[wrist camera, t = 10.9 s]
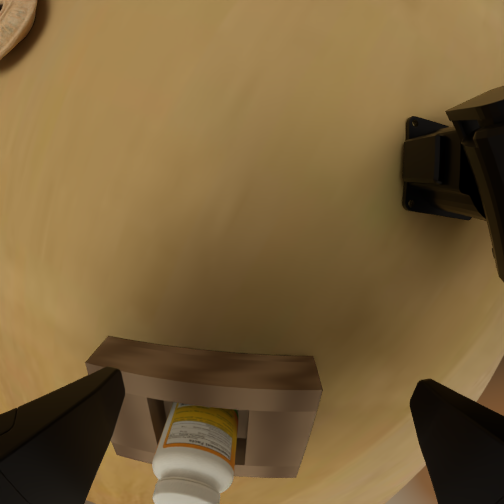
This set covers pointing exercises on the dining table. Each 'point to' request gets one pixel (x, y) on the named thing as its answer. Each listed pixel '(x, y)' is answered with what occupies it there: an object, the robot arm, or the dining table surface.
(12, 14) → the pottery oil lamp
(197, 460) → the supplement bottle
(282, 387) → the walnut holder
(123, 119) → the dining table surface
